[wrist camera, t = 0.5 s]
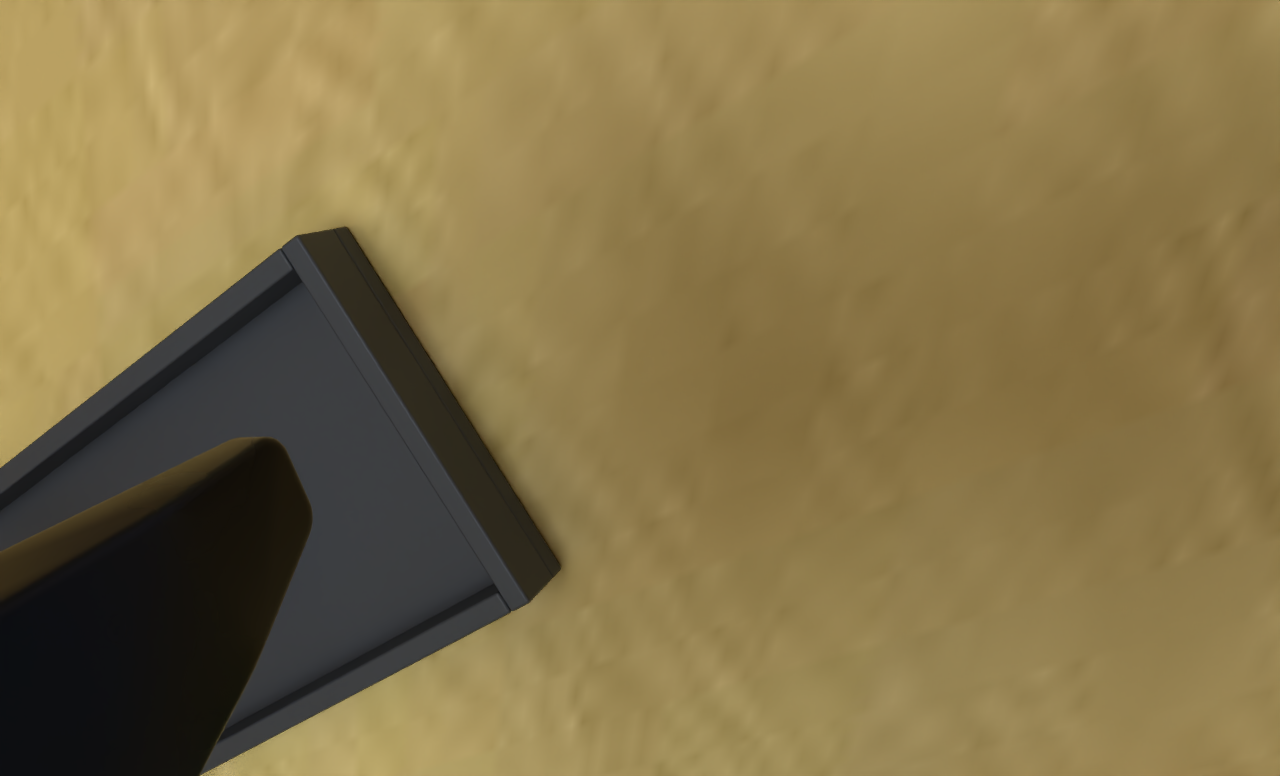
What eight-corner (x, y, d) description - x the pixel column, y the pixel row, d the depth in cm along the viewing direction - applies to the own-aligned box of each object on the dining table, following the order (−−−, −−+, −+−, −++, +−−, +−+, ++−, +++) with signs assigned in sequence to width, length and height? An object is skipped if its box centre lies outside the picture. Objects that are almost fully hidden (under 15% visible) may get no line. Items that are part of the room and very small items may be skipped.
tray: (-29, 882, 38) (-84, 924, 36) (-192, 639, 37) (-257, 669, 35) (563, 568, 27) (530, 603, 25) (347, 225, 27) (296, 234, 25)
